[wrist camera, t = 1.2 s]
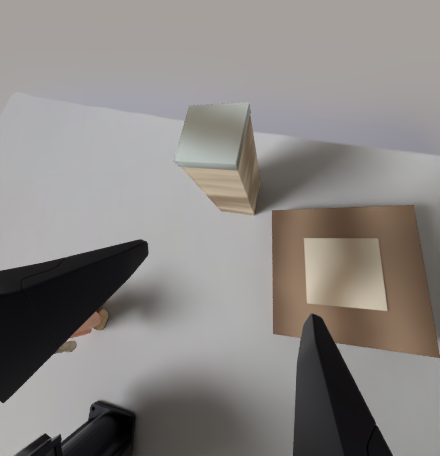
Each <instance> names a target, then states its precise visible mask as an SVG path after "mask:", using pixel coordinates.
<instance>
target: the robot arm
mask: <svg viewBox="0 0 440 456" xmlns="http://www.w3.org/2000/svg"><path fill="white" fill-rule="evenodd" d="M147 256H148V243H147V242H146V241H144V240H141V239H140V240H135V241H131V242H127V243H123V244H119V245H115V246H110V247H106V248H102V249H98V250H94V251H90V252H86V253H81V254H77V255H73V256H69V257H67V258H66V257H65V258H61V259H57V260H52V261H48V262H43V263H38V264H33V265H28V266H23V267H18V268H13V269H7V270H2V271H0V401H1V402H2V403H4V402H5V401H7V400H8V399H9V398H10V397H11V396H12V395H13V394H14V393H15V392H16V391H17V390H18V389H19V388H20V387H21V386H22V385H23V384H24V383H25V382H26V381H27V380H28V379H29V378H30V377H31V376H32V375H33V374H34V373H35V372H36V371H37V370H38V369H39V368H40V367H41V366H42V365H43V364H44V363H45V362H46V361H47V360H48V359H49V358H50V357H51V356H52V355H53V354H54V353H55V352H56V351H57V350H58V349H59V347H61V346H62V345H63V344H64V343H65V342H66V341H67V340H68V339H69V338H70V337H71V336H72V335H73V334H74V333H75V332H76V331H77V330H78V329H79V328H80V327H81V326H82V325H83V324H84V323H85V322H86V321H87V320H88V319H89V318H90V317H91V316H92V315H93V314H94V313H95V312H96V311H97V310H98V309H99V308H100V307H101V306H102V305H103V304H104V303H105V302H106V301H107V300H108V299H109V298H110V297H111V296H112V295H113V294H114V293H115V292H116V291H117V290H118V289H119V288H120V287H121V286H122V285H123V284H124V283H125V282H126V281H127V280H128V279H129V278H130V277H131V275H132V274H133V273H134V272H135V271H136V269H137V268H138V267H139V266H140V265H141V263H142V262H143V261H144V260H145V258H146V257H147ZM130 419H131V420H130ZM135 420H136V419H135V415H134V414H132V413H129V412H126V411H123V410H120V409H117V408H114V407H111V406H108V405H105V404H102V403H99V402H95V403H93V404H92V405H91V407H90V413H89V419H88V421H87V422H86V423H84V424H83V425H82V426H81V427H79V428H78V429H77V430H76V431H75V432H73V433H72V434H71V435H70V436H68V437H67V438H66V439H65V440H63V441H62V439H61V434H59V435H58V436H56V437H54V438H53V439H51V437H49V436H48V435H47V434H46V433H45V434H43V435H42V436H40V437H39V438H37V439H36V440H35V441H33V442H32V443H30V444H29V445H28V446H26V447H25V448H23V449H22V450H21V451H19V452H18V453H17V454H15V455H14V456H132V448H133V437H134V428H135ZM61 441H62V442H61ZM293 456H393V455H392V453H391V451H390V449H389V447H388V445H387V443H386V441H385V440H384V438H383V436H382V434H381V432H380V430H379V428H378V426H377V425H376V422H375V420H374V418H373V416H372V414H371V412H370V410H369V408H368V406H367V404H366V403H365V401H364V399H363V397H362V395H361V393H360V391H359V389H358V387H357V385H356V383H355V381H354V379H353V377H352V375H351V373H350V371H349V369H348V367H347V365H346V363H345V361H344V359H343V358H342V356H341V354H340V352H339V350H338V348H337V346H336V344H335V342H334V340H333V338H332V336H331V334H330V332H329V330H328V328H327V326H326V324H325V322H324V320H323V319H322V317H320V316H318V315H316V314H314V313H311V314H310V315H309V317H308V318H307V320H306V321H305V323H304V325H303V329H302V335H301V341H300V348H299V354H298V360H297V375H296V398H295V422H294V445H293Z"/></svg>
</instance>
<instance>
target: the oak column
mask: <svg viewBox="0 0 440 456" xmlns="http://www.w3.org/2000/svg"><path fill="white" fill-rule="evenodd" d="M250 113H251V111H250V104H249V102H247V103H229V104H214V105H213V104H211V105H193V106H189V108H188V112H187V115H186V119H185V122H184V126H183V130H182V133H181V137H180V141H179V144H178V148H177V151H176V155H175V159H174V162H175V163H176V164H177V165H178V166H179V167H181V168H182V169H183V170H184V171H185V172H186V174H187V175H188V176H189V177H190V178H191V179H192V180H193V181H194V182H195V183H196V184H197V185H198V187H199V188H200V189H201V190H202V191H203V192H204V193H205V194H206V195H207V196H208V197H209V198H210V200H211V201H212V202H213V203H214V204H215V205H216V206H217V207H218V208H219V209H220V210H221V211H226V212H234V213H241V214H248V215H255V209H256V204H257V199H258V194H259V189H260V184H261V180H260V174H259V168H258V161H257V155H256V149H255V142H254V136H253V129H252V123H251V117H250Z"/></svg>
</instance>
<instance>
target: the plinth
mask: <svg viewBox="0 0 440 456" xmlns="http://www.w3.org/2000/svg"><path fill="white" fill-rule="evenodd" d="M272 253H273V334H278V335H285V336H291V337H298V338H301V335H302V329H303V325H304V323H305V321H306V320H307V318H308V317H309V315H310V314H311V313H314V314H316V315H318V316H320V317H322V319H323V320H324V322H325V324H326V326H327V328H328V330H329V332H330V334H331V336H332V338H333V340H334V342H335V343H340V344H347V345H354V346H361V347H368V348H375V349H382V350H389V351H396V352H403V353H409V354H416V355H423V356H430V357H437V358H440V354H439V348H438V342H437V337H436V331H435V325H434V320H433V314H432V308H431V302H430V297H429V291H428V285H427V280H426V274H425V268H424V262H423V257H422V251H421V245H420V240H419V234H418V228H417V222H416V217H415V211H414V205H407V206H379V207H352V208H325V209H298V210H272Z"/></svg>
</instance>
